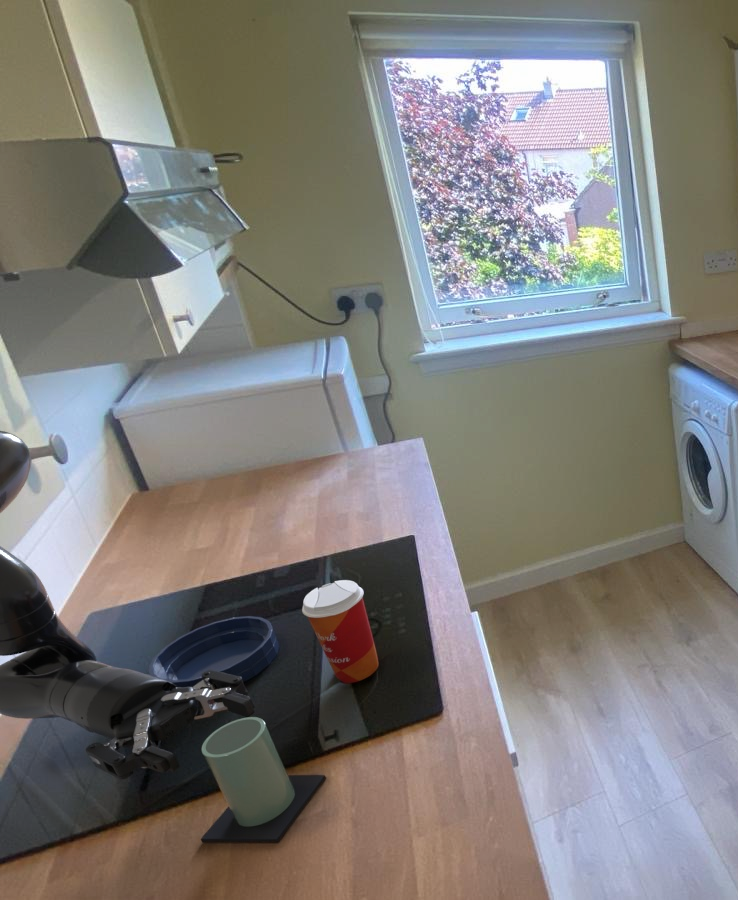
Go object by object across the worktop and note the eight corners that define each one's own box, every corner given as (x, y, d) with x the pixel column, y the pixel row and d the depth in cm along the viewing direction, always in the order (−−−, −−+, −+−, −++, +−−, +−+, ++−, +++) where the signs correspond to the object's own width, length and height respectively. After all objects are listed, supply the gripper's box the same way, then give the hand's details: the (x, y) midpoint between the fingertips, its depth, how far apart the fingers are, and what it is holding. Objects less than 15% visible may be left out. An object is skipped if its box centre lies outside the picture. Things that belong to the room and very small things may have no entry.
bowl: (189, 717, 102) (178, 695, 101) (140, 682, 109) (129, 661, 107) (300, 654, 114) (292, 633, 112) (249, 626, 121) (241, 606, 119)
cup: (226, 832, 84) (191, 762, 80) (247, 791, 90) (214, 723, 85) (285, 819, 86) (253, 749, 81) (302, 779, 91) (273, 711, 87)
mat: (202, 842, 84) (200, 839, 84) (256, 778, 92) (255, 774, 92) (278, 842, 84) (276, 839, 83) (326, 778, 92) (325, 774, 92)
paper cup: (323, 669, 110) (294, 592, 105) (379, 646, 115) (354, 571, 109) (335, 696, 105) (305, 617, 99) (393, 671, 110) (367, 594, 104)
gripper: (37, 722, 82) (131, 757, 77) (172, 642, 94) (262, 669, 89) (67, 770, 85) (159, 808, 80) (194, 687, 97) (281, 715, 92)
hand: (213, 734), depth 85 cm, fingers open, 8 cm apart
